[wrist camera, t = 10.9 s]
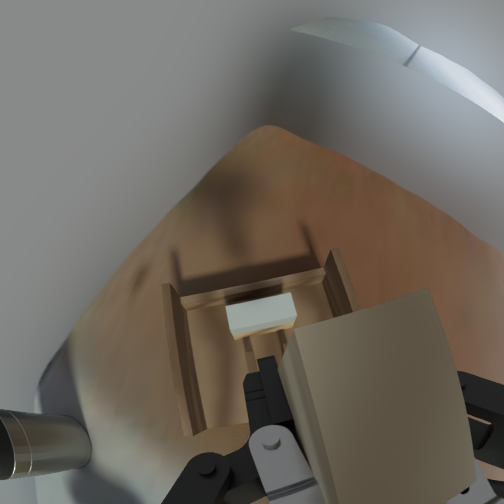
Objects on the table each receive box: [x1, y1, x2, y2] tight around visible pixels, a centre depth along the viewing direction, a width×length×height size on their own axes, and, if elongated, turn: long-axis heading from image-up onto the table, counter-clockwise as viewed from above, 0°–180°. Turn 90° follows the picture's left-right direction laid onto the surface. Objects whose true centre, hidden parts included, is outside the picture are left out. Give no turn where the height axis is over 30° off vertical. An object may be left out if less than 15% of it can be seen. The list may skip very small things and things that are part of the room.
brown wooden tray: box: [162, 248, 361, 437], centre depth 34 cm, size 22×18×9 cm
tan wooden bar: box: [277, 287, 476, 504], centre depth 10 cm, size 2×4×15 cm, turn 13°
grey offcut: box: [225, 292, 297, 335], centre depth 35 cm, size 8×3×3 cm, turn 102°
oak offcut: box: [233, 322, 294, 340], centre depth 38 cm, size 8×3×3 cm, turn 102°
